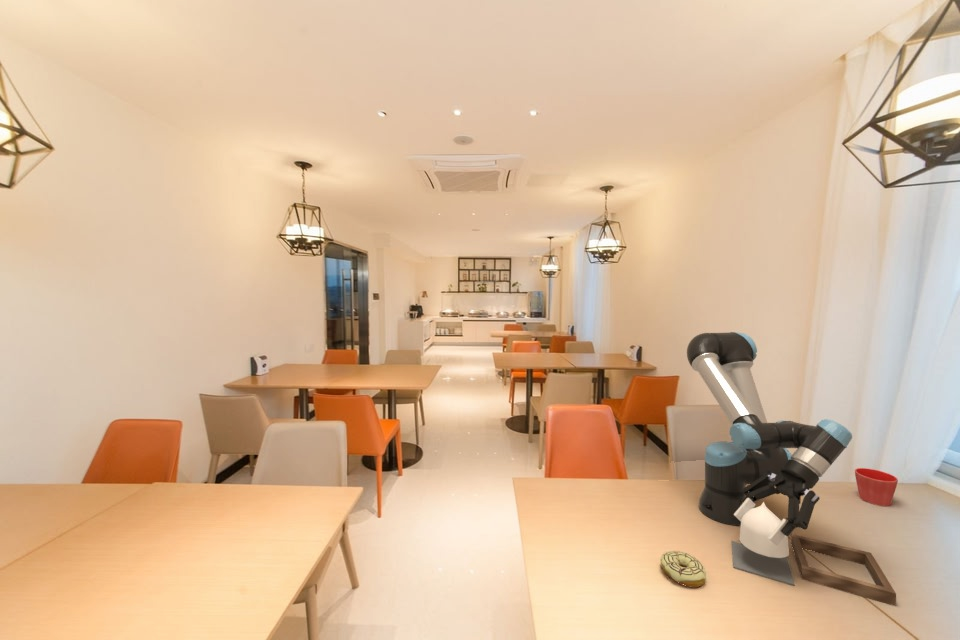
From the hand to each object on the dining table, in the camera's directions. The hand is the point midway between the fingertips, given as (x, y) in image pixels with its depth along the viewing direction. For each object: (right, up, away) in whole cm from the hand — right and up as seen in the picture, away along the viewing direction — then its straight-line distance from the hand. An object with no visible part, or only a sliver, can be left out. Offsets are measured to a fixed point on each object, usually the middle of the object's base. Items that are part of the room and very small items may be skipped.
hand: (754, 529), depth 103 cm
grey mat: (+3, -10, +2) cm, 11 cm away
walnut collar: (+21, -10, -2) cm, 23 cm away
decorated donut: (-21, -11, -2) cm, 24 cm away
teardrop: (+3, -5, +1) cm, 6 cm away
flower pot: (+67, -8, +32) cm, 75 cm away
